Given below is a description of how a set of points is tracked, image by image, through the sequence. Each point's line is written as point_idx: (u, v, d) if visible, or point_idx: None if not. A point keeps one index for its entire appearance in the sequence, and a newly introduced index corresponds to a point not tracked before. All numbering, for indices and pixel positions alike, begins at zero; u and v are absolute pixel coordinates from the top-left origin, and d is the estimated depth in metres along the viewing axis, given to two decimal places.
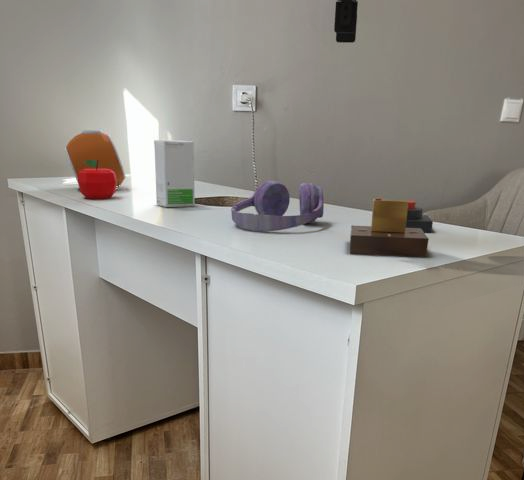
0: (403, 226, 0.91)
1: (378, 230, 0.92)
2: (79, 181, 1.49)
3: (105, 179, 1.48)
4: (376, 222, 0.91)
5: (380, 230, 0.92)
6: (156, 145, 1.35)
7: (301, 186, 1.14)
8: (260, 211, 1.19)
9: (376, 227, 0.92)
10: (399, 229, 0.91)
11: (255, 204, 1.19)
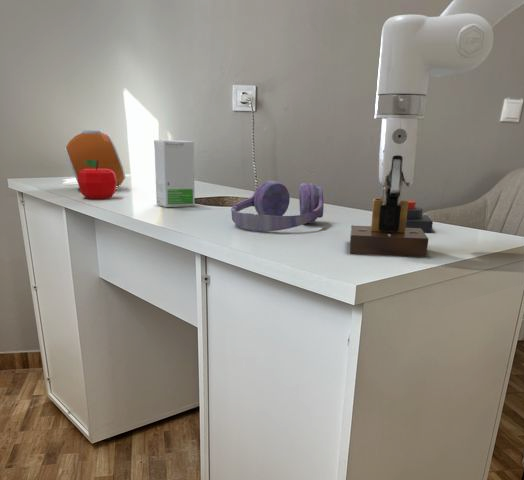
0: (403, 226, 0.91)
1: (378, 230, 0.92)
2: (79, 181, 1.49)
3: (105, 179, 1.48)
4: (376, 222, 0.91)
5: None
6: (156, 145, 1.35)
7: (301, 186, 1.14)
8: (260, 211, 1.19)
9: (376, 227, 0.92)
10: (399, 229, 0.91)
11: (255, 204, 1.19)
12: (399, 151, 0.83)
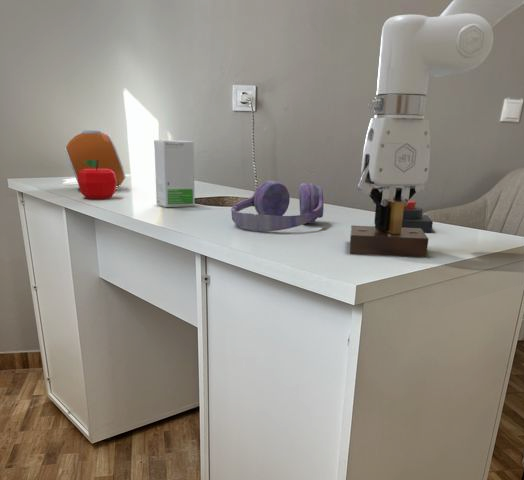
0: (392, 227, 0.90)
1: None
2: (79, 181, 1.49)
3: (105, 179, 1.48)
4: None
5: None
6: (156, 145, 1.35)
7: (301, 186, 1.14)
8: (260, 211, 1.19)
9: None
10: (389, 229, 0.90)
11: (255, 204, 1.19)
12: (368, 150, 0.86)
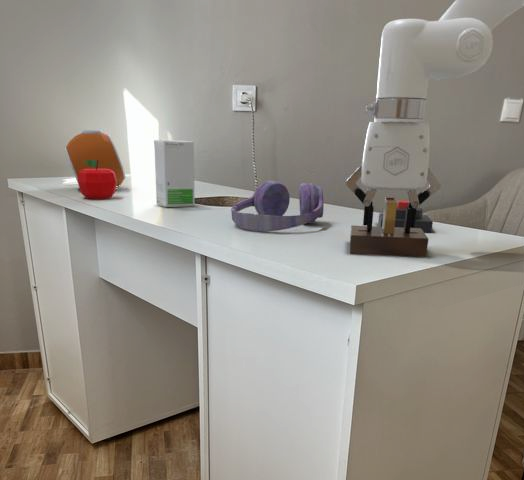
0: (384, 227, 0.90)
1: (382, 228, 0.94)
2: (79, 181, 1.49)
3: (105, 179, 1.48)
4: None
5: (382, 228, 0.93)
6: (156, 145, 1.35)
7: (301, 186, 1.14)
8: (260, 211, 1.19)
9: (382, 225, 0.94)
10: (383, 229, 0.91)
11: (255, 204, 1.19)
12: (363, 153, 0.88)
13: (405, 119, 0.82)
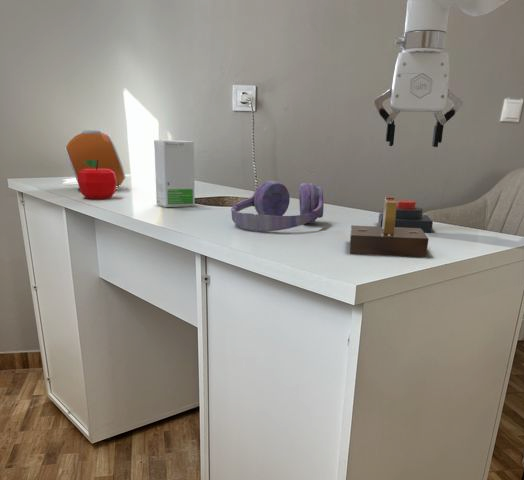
0: (384, 227, 0.90)
1: (382, 228, 0.94)
2: (79, 181, 1.49)
3: (105, 179, 1.48)
4: None
5: (382, 228, 0.93)
6: (156, 145, 1.35)
7: (301, 186, 1.14)
8: (260, 211, 1.19)
9: (382, 225, 0.94)
10: (383, 229, 0.91)
11: (255, 204, 1.19)
12: None
13: (429, 48, 0.99)
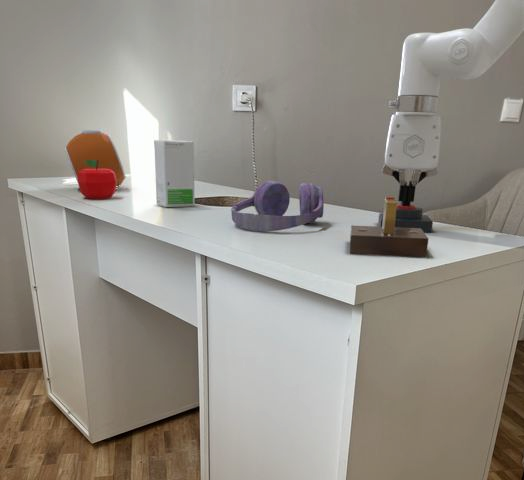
0: (384, 227, 0.90)
1: (382, 228, 0.94)
2: (79, 181, 1.49)
3: (105, 179, 1.48)
4: None
5: (382, 228, 0.93)
6: (156, 145, 1.35)
7: (301, 186, 1.14)
8: (260, 211, 1.19)
9: (382, 225, 0.94)
10: (383, 229, 0.91)
11: (255, 204, 1.19)
12: None
13: (421, 112, 1.03)
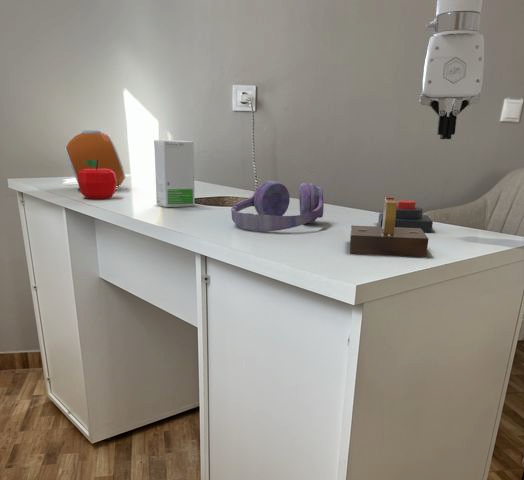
0: (384, 227, 0.90)
1: (382, 228, 0.94)
2: (79, 181, 1.49)
3: (105, 179, 1.48)
4: None
5: (382, 228, 0.93)
6: (156, 145, 1.35)
7: (301, 186, 1.14)
8: (260, 211, 1.19)
9: (382, 225, 0.94)
10: (383, 229, 0.91)
11: (255, 204, 1.19)
12: (424, 66, 1.01)
13: (463, 30, 0.95)
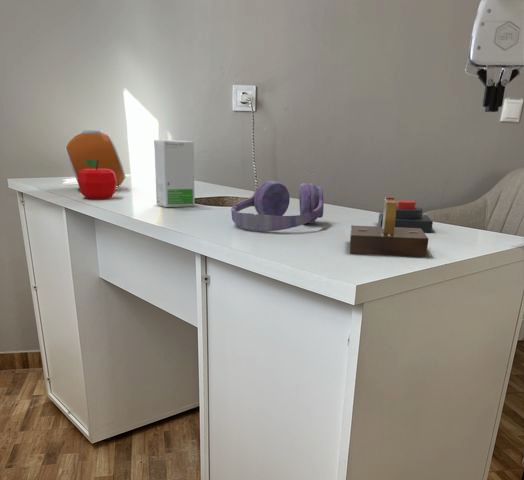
0: (384, 227, 0.90)
1: (382, 228, 0.94)
2: (79, 181, 1.49)
3: (105, 179, 1.48)
4: None
5: (382, 228, 0.93)
6: (156, 145, 1.35)
7: (301, 186, 1.14)
8: (260, 211, 1.19)
9: (382, 225, 0.94)
10: (383, 229, 0.91)
11: (255, 204, 1.19)
12: (473, 31, 0.94)
13: None
